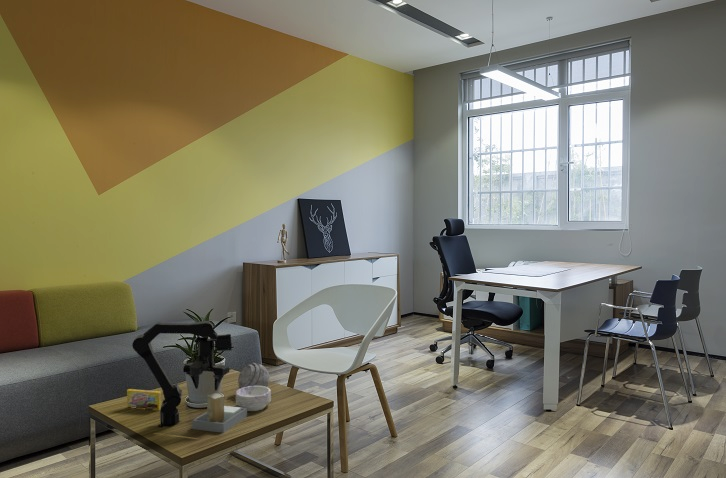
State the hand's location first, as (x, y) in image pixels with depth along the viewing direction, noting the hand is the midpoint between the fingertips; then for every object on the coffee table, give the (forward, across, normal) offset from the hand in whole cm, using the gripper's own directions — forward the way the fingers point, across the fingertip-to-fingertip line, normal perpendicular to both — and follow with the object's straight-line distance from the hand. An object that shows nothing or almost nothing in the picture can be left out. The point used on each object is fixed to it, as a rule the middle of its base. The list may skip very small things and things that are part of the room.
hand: (206, 389), depth 219 cm
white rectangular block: (+12, +8, +2) cm, 15 cm away
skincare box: (+12, +8, -6) cm, 16 cm away
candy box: (+14, -35, +5) cm, 38 cm away
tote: (+13, +8, -2) cm, 15 cm away
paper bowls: (+13, +12, +18) cm, 25 cm away
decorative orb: (+13, +3, +35) cm, 37 cm away
